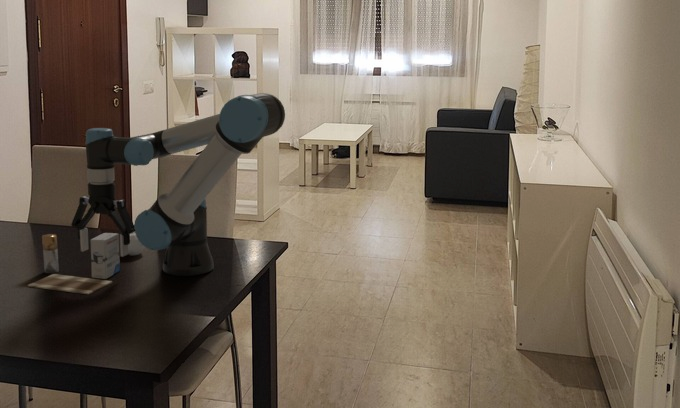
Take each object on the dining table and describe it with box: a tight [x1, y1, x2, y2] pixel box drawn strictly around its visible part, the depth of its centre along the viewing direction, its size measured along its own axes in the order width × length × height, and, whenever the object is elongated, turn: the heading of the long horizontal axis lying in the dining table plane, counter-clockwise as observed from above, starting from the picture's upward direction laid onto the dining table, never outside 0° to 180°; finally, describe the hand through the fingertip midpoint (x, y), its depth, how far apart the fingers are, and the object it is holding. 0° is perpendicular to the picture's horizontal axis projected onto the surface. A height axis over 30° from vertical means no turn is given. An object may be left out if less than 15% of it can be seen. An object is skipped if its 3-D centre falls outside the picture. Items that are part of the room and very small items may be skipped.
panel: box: [27, 273, 113, 295], centre depth 209 cm, size 20×11×1 cm, turn 73°
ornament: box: [128, 231, 146, 256], centre depth 239 cm, size 7×7×8 cm
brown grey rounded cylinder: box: [41, 233, 60, 274], centre depth 220 cm, size 4×4×11 cm
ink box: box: [90, 232, 121, 280], centre depth 217 cm, size 9×5×12 cm, turn 168°
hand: (104, 252), depth 217 cm, fingers open, 13 cm apart
